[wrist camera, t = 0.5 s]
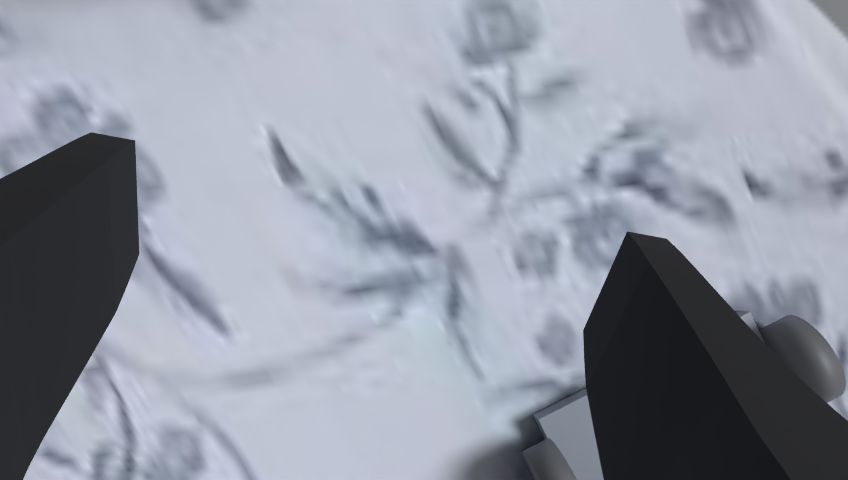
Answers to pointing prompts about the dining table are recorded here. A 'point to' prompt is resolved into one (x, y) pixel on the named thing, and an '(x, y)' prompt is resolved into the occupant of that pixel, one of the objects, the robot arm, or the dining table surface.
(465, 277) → the dining table surface
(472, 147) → the dining table surface
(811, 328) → the chassis
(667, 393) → the robot arm
